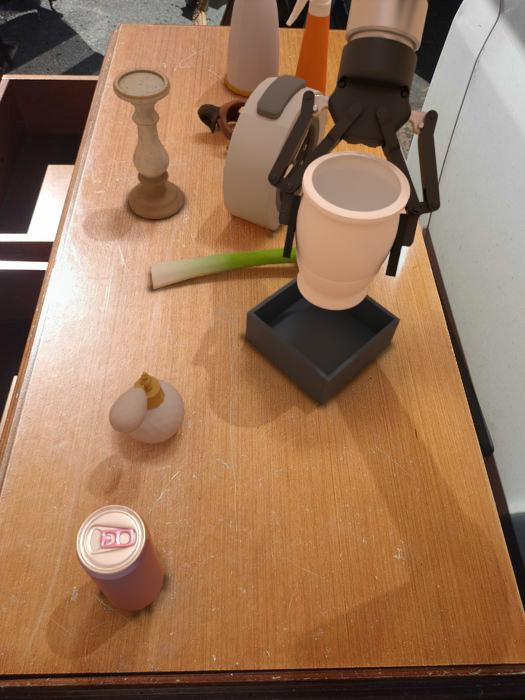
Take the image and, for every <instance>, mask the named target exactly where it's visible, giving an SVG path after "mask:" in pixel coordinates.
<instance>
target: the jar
mask: <svg viewBox="0 0 525 700" xmlns="http://www.w3.org/2000/svg"><path fill="white" fill-rule="evenodd" d="M302 189H303V194H302V196H301V202H300V206H299V210H298V214H297V220H296V229H295V235H294V239H295V247H296V255H297V263H296V264H297V268H298V270H299V271H298V272H297V276H296V277H297V285H298V288H299V290H300V292H301V294H302V295H303V296H304V297H305V298H306V299H307V300H308V301H309V302H311V303H312V304H314V305H316V306H318V307H321V308H324V309H329V310H344V309H348V308H351V307H354V306H356V305H357V304H359V303H360V302H361V301H362V300H363V299H364V298H365V296H366V294H367V295H368V291H369V285H370V284H371V283H372V282H373V281H374V279H375V278H376V277H377V275H378V274H379V272H380V270H381V268H382V266H383V264H384V263H385V261H386V260H387V258H388V257H389V254H390V250H391V248H392V246H393V243H394V240H395V237H396V234H397V230H398V224H399V218H400V214H401V213H402V211H403V210H405V206H406V204H407V201H408V199H409V196H410V185H409V182H408V180H407V178H406V176H405V175H404V174H403V172H402V171H401V170H400V169H399V168H397V167H396V166H395V165H394V164H392V163H390V162H389V161H387V159H386V158H383V157H380V156H378V155H376V154H371V153H368V152H363V151H355V150H341V151H334V152H330V153H329V154H326V155H323V156H321V157H319V158H317V159H316V160H314V161H313V162H312V163H311V164H310V165H309V166H308V167H307V169H306V170H305V173H304V176H303V180H302Z"/></svg>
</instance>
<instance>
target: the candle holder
mask: <svg viewBox="0 0 525 700" xmlns="http://www.w3.org/2000/svg"><path fill="white" fill-rule="evenodd" d="M112 89H113V92H114V95H116V97H118V99H120V100H121V101H124V102H126V103H129V104H131V105H132V106H133V107H134V112H133V113H132V116H131V120H132V121H133V123H134V124H136V127H137V143H136V146H135V148H134V151H133V156H132V162H133V166H134V168H135V170H136V171H137V172H138V173H137V180H138V181H139V183H138V184H136V185H135V186H133V188H132V189H130V192H129V193H128V205H129V207H130V209H131V210H132V211H133V213H135V215H138V216H139V217H141V218H145V219H150V220H161V219H166V218H168V217H171V216H173V215H175V214H176V213H178V212H179V211H180V210H181V208H182V206H183V204H184V194H183V191H182V189H181V188H180V187H179V186H178V185H177V184H176V183H174V182H171V181H170V180H169V178H170V177H169V172H168V168H169V165H170V157H169V154H168V151H167V149H166V147H165V146H164V144H162V141H161V139H160V137H159V132H158V127H157V123H158V122H159V120H160V114H159V113H158V112H157V110H156V109H155V105H156V104H157V103H158V102H159V101H161V100H164V99H165V98H166V97H167V96H168V95H169V93H170V92H171V82H170V79H169V78H168V76H167V75H166V74H165V73H163V72H162V71H159V70H157V69H154V68H149V67H134V68H130V69H126V70H124V71H122V72H120V73H118V74H117V75H116V76H115V78H114V79H113V82H112Z"/></svg>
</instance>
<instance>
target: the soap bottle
mask: <svg viewBox="0 0 525 700" xmlns="http://www.w3.org/2000/svg"><path fill="white" fill-rule="evenodd" d="M277 3H278V2H277V0H234V2H233V8H232V12H231V20H230V26H229V32H228V33H229V35H228V42H227V53H226V55H227V56H226V73H225V76H224V82H225V85H226V86H227V88H228V89H229V90H230V91H232V92H234V93H235V94H238V95H240V96H244V97H248V98H249V97H250V95H251V94H252V93H253V92H254V90H255V89H256V88H257V87H258V85H259V84H260V83H262V82H263V81H264V80H266V79H267V78H271V77H278V78H279V77H280V76H279V71H280V26H279V25H280V23H279V11H278V10H279V9H278V5H277Z"/></svg>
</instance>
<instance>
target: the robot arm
mask: <svg viewBox="0 0 525 700" xmlns="http://www.w3.org/2000/svg"><path fill="white" fill-rule="evenodd" d="M429 3H430V0H351V2H350V8H349V13H348V19H347V23H346V29H345V34H344V39H345V41H346V42H347V43H346V44H345V45H344V46H343V47H342V51H341V57H340V62H339V68H338V73H337V77H336V83H335V88H334V90H333V91H332V93H331V94H330V95H325V96H322V95H314V92H312V91H311V90H307V91H305V92H304V94H303V98H302V105H301V112H300V115H299V117H298V119H297V121H296V122H295V124H294V126H293V128H292V130H291V132H290V134H289V136H288V138H287V140H286V142H285V144H284V146H283V148H282V150H281V152H280V154H279V156H278V158H277V160H276V161H275V163H274V165H273V167H272V169H271V171H270V173H269V175H268V181H269V183H270V184H271V185H272V186H274V187H275V188H277V189H279V190H280V191H281V192H282V201H281V206H280V212H279V218H278V219H279V224H280V225H281V226H285V227H287V229H286V233H285V238H284V239H285V240H284V246H283V248H284V250H283V256H282V257H285V258H290V257H291V252H292V247H294V246H293V245H294V239H295V229H296V220H297V214H298V210H299V206H300V203H301V200H302V195H301V196H299V195H295V193H296V191H297V190H298V189H299V188H300V187H301V186H302V180H303V176H304V173H305V170H306V169H307V167H308V166H309V165H310V164H311V163H312V162H313V161H314V160H316V159H317V158H319V157H321V156H323V155H326V154H329V153H332V151H334V149H336V147H338V145H339V144H340V143H341V142H342V141H344V142H346V144H348V145H354V146H355V145H364V146H366V147H368V148H372V149H377V148H379V147H381V150H382V153H383V155H384V157H385V160H387V161H389V162H390V163H392V164H394V165H395V166H396V167H397V168H399V169H400V170H401V171H402V172H403V174H404V175H405V176H406V178H407V180H408V182H409V185H410V196H409V199H408V201H407V204H406V206H405V208H404V211H405V212H401V213H400V218H399V224H398V230H397V234H396V237H395V240H394V243H393V246H392V248H391V250H390V253H389V255H388V260H387V263H386V269H385V273H384V276H386V277H393V278H396V277H397V272H398V267H399V263H400V258H401V253H402V249H403V247H407V248H410V247H411V246H412V245H413V244H414V241H415V236H416V232H417V228H418V223H419V220H420V217H421V216H422V215H425V214H432V213H434V212H437V211H438V210H440V208H441V195H440V186H439V174H438V165H437V154H436V143H435V131H436V127H437V123H438V119H439V113H438V112H437V110H435V109H430V110H428V111H427V112H426V111H421V110H416V109H412V107H411V104H410V103H411V102H410V96H411V91H412V87H413V81H414V77H415V72H416V66H417V61H418V56H417V53H416V51H418V50H419V48H420V47H421V43H422V38H423V33H424V28H425V24H426V17H427V13H428V9H429ZM324 109H327V111H328V112H329V114H330V117H331V119H332V121H333V124H334V125H333V126H332V127H331V128H330V130H329V131H328V132H327V134H326V135H325V136H324V138H323V140H322V141H321V142H320V144H319V145H318V146H317V147H316V148H315V149H314V150H313V152H312V153H311V154H310V155H309V156H308V157H307V159H306V160H305V161H304V162H303V163H302V164H301V166H300V167H299V168H298V169H297V170H296V171H295V172H294V174H293V175H292V176H291V177H290V178H289V179H288V180H287V179H285V178H284V175H285V173H286V171H287V169H288V167H289V165H290V163H291V162H292V160H293V158H294V156H295V154H296V152H297V150H298V148H299V146H300V144H301V142H302V140H303V138H304V137H305V135H306V133H307V131H308V129H309V127H310V124H311V121H312V118H317V117H319V116H320V114H321V112H322V110H324ZM407 123H410V125H411V127H412V133H413V134H414V135H416V136H417V153H418V163H419V164H418V165H419V173H420V182H421V184H420V185H421V193H422V201H420V199H419V196H418V194H417V190H416V188H415V185H414V183H413V180H412V177H411V174H410V171H409V168H408V165H407V163H406V160H405V158H404V155H403V152H402V149H401V143H400V140H399V138H398V135H397V132H399V131H400V130H401V129H402V128H403V127H404V126H405V125H406V124H407ZM280 225H279V226H280Z"/></svg>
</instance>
